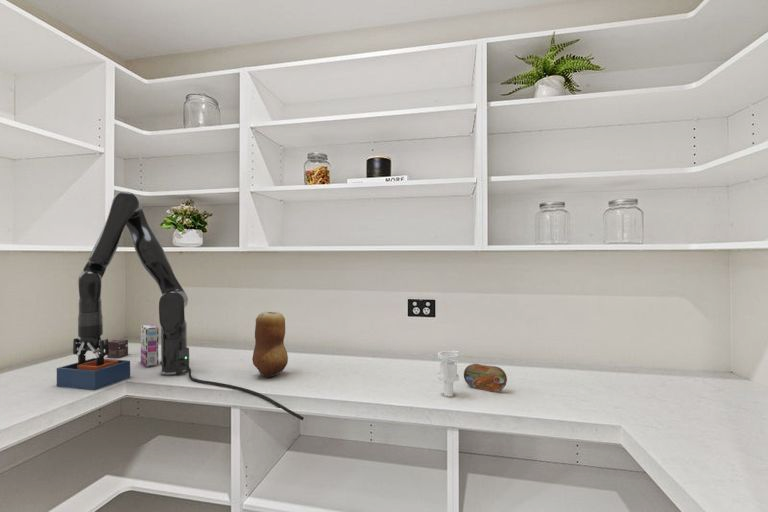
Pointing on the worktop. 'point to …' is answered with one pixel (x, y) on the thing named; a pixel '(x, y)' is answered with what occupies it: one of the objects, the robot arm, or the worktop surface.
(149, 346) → the candy bar box
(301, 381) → the worktop surface
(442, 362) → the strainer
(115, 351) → the box
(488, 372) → the tin
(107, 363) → the small bin
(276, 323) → the butternut squash
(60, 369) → the big bin
